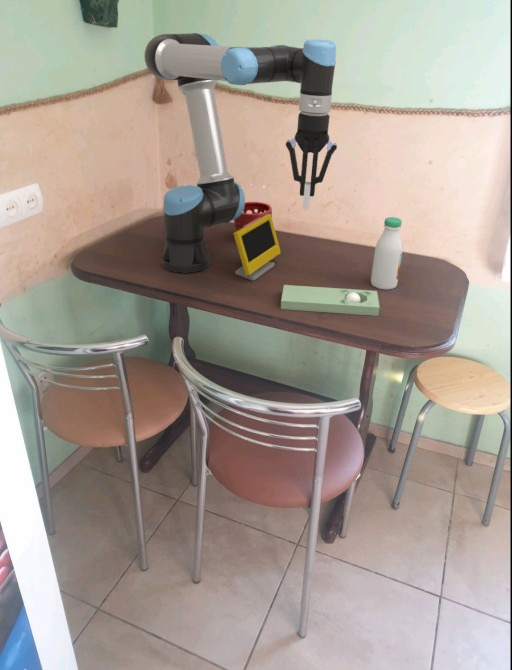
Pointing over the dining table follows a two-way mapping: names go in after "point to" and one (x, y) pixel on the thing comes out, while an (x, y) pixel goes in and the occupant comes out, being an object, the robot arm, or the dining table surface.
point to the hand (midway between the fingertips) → (305, 207)
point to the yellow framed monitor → (257, 247)
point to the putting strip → (329, 300)
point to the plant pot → (248, 218)
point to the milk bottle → (387, 256)
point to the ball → (353, 297)
